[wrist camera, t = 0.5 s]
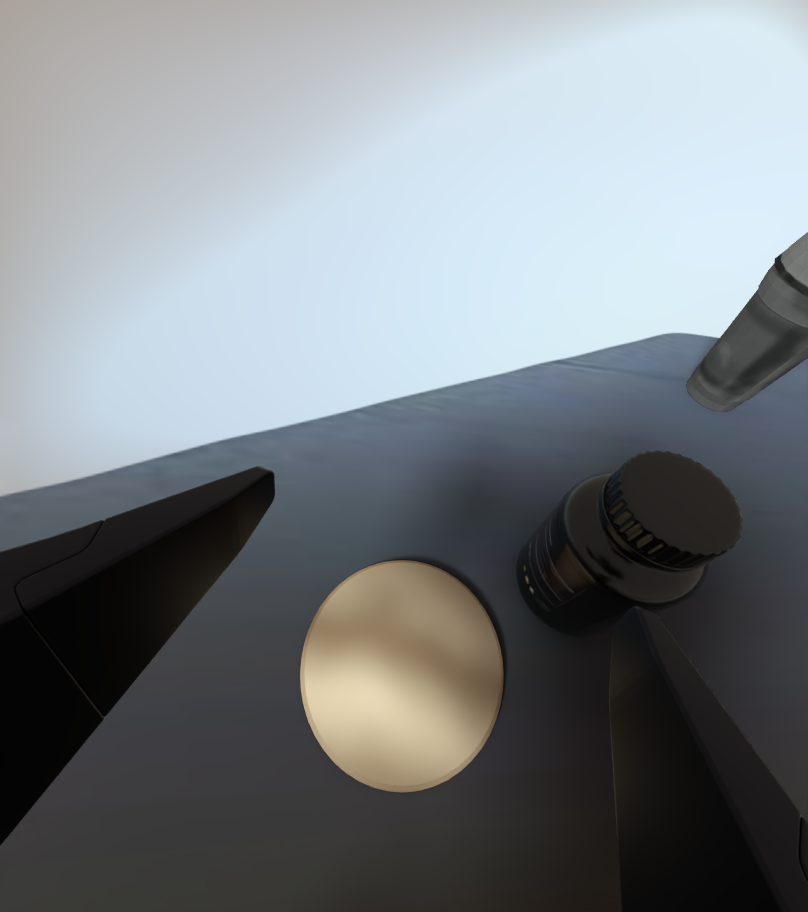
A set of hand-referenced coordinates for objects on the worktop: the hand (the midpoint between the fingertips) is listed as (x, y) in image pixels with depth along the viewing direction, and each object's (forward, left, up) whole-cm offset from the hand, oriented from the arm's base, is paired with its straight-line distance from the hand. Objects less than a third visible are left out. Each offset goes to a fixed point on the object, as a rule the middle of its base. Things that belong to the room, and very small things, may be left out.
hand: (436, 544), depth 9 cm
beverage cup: (+25, -26, -16) cm, 40 cm away
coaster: (-1, 0, -16) cm, 16 cm away
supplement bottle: (+5, -10, -16) cm, 20 cm away
